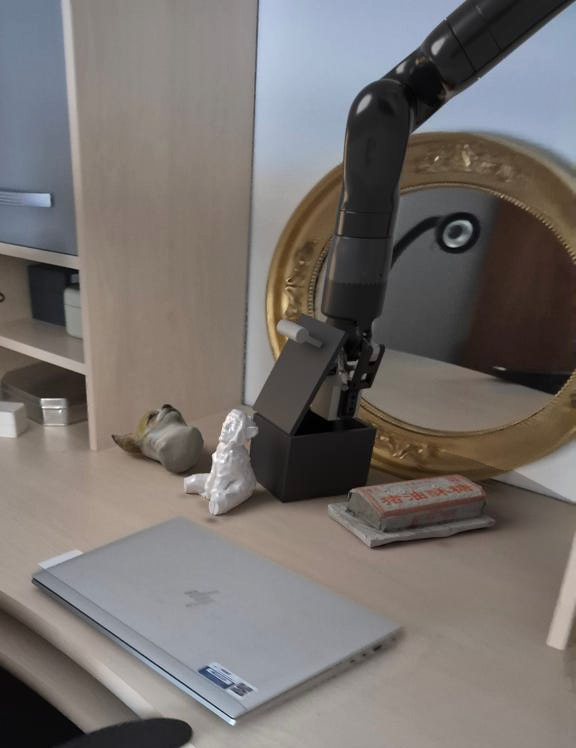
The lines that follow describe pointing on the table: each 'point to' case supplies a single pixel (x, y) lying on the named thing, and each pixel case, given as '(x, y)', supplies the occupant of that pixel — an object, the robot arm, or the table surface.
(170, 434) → the ceramic sculpture
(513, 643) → the table surface
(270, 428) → the open hinged box
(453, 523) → the packaged product
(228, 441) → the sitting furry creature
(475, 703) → the table surface
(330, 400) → the off-white matte cube
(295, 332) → the box lid
